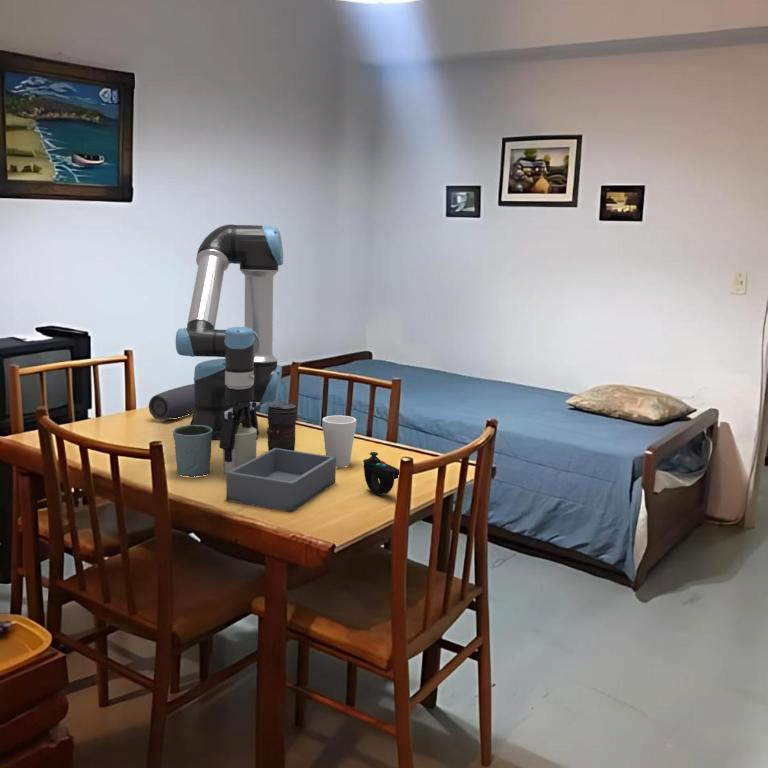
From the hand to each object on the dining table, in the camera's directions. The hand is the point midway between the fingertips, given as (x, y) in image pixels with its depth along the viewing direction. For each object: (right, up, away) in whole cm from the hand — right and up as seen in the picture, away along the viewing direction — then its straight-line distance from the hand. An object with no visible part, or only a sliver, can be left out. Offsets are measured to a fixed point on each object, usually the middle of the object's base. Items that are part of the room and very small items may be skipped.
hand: (239, 467), depth 221 cm
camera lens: (+9, +2, +16) cm, 18 cm away
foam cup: (+26, 0, +9) cm, 28 cm away
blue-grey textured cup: (-12, -1, -3) cm, 12 cm away
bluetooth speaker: (-30, +11, +57) cm, 65 cm away
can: (0, -1, 0) cm, 1 cm away
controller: (+38, -5, -14) cm, 41 cm away
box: (+13, -4, -14) cm, 20 cm away
